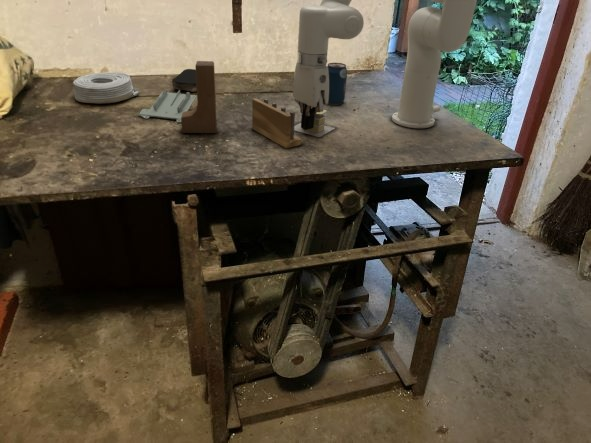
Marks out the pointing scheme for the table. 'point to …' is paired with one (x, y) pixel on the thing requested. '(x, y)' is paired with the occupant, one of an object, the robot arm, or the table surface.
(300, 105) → the robot arm
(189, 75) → the black sponge
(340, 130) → the table surface
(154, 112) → the metal bracket
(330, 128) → the stacked layers on plate
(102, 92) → the cable
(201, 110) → the wooden block
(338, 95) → the soda can
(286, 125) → the peg rack
